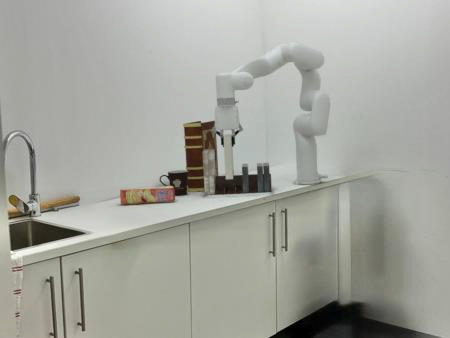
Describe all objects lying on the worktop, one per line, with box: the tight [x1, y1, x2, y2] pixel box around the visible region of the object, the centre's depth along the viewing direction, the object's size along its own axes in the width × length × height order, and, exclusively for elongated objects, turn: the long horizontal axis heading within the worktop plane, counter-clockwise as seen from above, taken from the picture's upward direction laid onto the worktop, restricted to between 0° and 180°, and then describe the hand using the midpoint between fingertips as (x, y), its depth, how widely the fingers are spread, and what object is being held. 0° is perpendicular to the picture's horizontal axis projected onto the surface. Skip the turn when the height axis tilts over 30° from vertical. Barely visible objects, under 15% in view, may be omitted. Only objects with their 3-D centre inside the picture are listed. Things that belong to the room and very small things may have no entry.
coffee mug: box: [159, 169, 188, 197], centre depth 267 cm, size 12×9×10 cm
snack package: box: [119, 185, 176, 206], centre depth 249 cm, size 21×7×7 cm, turn 99°
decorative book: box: [182, 120, 219, 193], centre depth 282 cm, size 22×8×30 cm, turn 168°
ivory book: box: [223, 133, 235, 179], centre depth 262 cm, size 3×11×18 cm, turn 4°
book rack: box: [203, 149, 273, 197], centre depth 263 cm, size 28×14×19 cm, turn 94°
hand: (228, 146), depth 261 cm, fingers closed on ivory book, 3 cm apart
